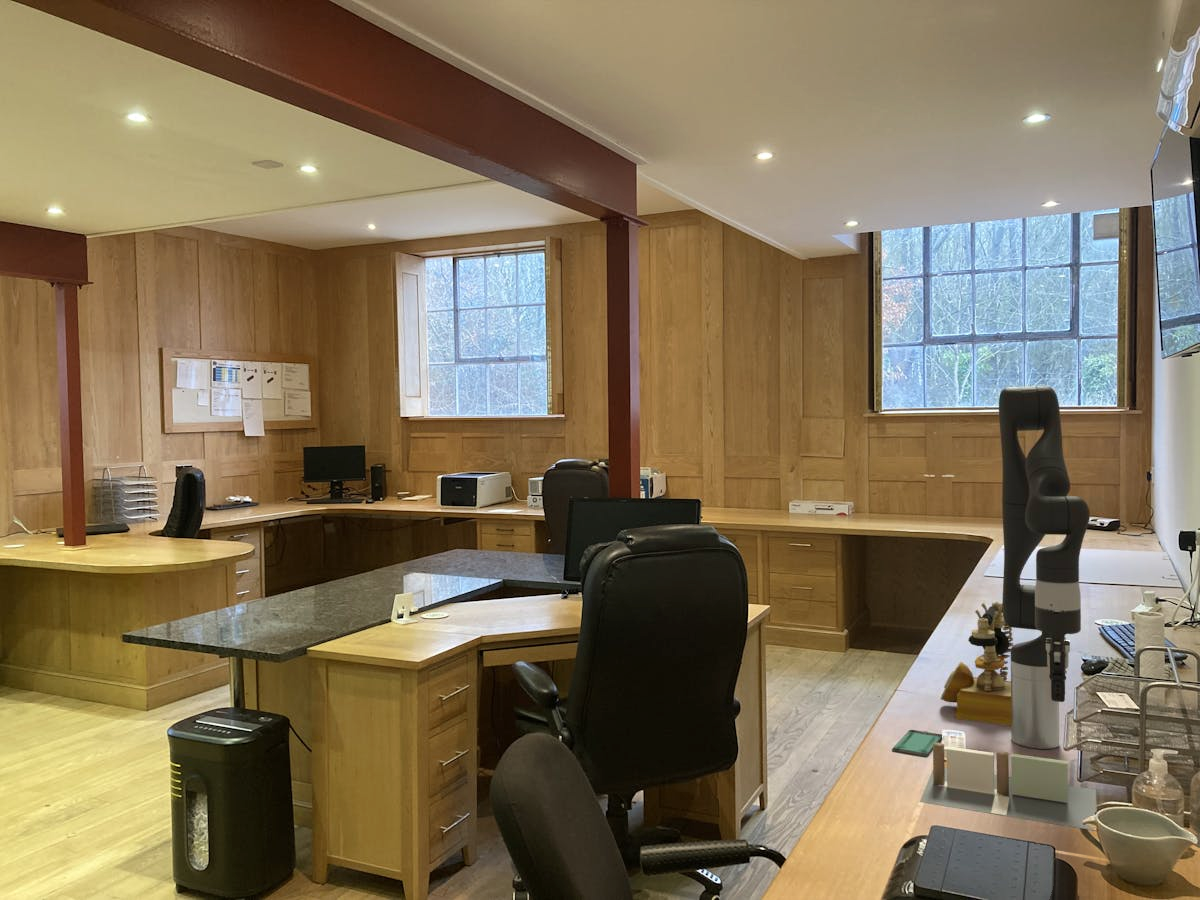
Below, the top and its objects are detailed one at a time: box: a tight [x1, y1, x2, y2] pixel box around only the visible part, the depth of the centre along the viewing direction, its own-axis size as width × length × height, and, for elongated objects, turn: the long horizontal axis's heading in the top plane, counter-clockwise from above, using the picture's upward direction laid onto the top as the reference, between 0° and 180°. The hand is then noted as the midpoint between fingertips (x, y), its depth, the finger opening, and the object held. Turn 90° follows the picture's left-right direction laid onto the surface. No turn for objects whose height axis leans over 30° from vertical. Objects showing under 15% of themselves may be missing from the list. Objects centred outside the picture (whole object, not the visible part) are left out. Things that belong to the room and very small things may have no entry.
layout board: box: [919, 766, 1098, 832], centre depth 165 cm, size 19×28×1 cm
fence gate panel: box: [1010, 753, 1069, 803], centre depth 164 cm, size 9×2×7 cm, turn 62°
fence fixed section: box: [932, 742, 1010, 796], centre depth 169 cm, size 2×13×7 cm, turn 62°
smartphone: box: [891, 729, 943, 758], centre depth 193 cm, size 7×1×15 cm
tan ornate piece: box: [940, 601, 1014, 727], centre depth 218 cm, size 35×18×25 cm, turn 149°
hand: (1058, 697), depth 168 cm, fingers open, 3 cm apart
